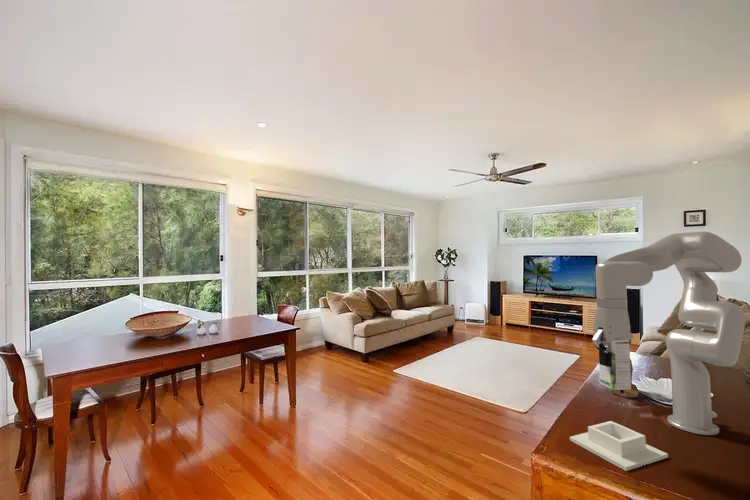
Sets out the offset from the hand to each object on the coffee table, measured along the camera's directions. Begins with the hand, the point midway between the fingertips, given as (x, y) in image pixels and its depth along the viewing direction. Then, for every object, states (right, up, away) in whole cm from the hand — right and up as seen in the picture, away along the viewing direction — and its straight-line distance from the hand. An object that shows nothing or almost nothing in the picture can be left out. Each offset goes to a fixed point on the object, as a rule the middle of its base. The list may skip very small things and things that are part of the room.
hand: (614, 363), depth 102 cm
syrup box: (0, -7, 0) cm, 7 cm away
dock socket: (0, -25, -1) cm, 25 cm away
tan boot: (+32, -26, +42) cm, 59 cm away
